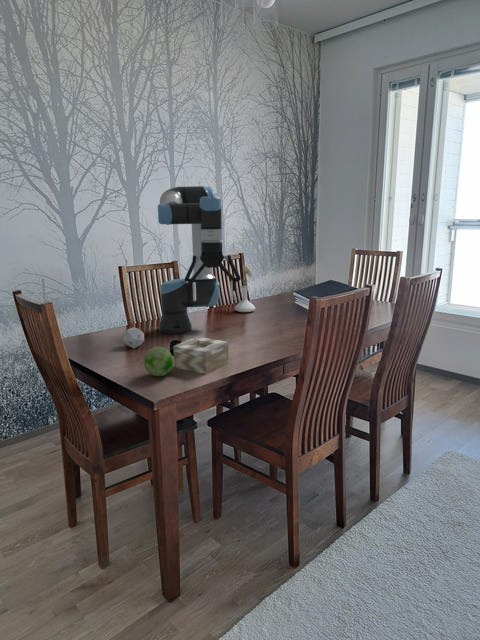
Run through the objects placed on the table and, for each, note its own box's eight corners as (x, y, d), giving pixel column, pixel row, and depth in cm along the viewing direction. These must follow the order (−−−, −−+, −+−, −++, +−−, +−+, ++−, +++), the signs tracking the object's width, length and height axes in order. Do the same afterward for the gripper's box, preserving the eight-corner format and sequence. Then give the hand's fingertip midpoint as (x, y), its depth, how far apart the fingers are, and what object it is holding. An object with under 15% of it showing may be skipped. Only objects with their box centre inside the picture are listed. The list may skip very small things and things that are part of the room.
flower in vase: (255, 313, 248) (255, 266, 242) (234, 313, 248) (233, 267, 242) (255, 308, 260) (255, 263, 254) (234, 308, 260) (234, 264, 254)
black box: (177, 359, 177) (176, 346, 176) (159, 357, 180) (158, 345, 179) (191, 349, 189) (191, 337, 188) (174, 347, 192) (174, 336, 191)
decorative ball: (146, 371, 163) (145, 343, 161) (175, 370, 163) (174, 342, 161) (142, 381, 153) (140, 352, 151) (172, 380, 154) (171, 351, 152)
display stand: (174, 367, 166) (173, 346, 164) (197, 356, 178) (197, 336, 176) (206, 374, 159) (205, 352, 157) (228, 362, 170) (228, 341, 168)
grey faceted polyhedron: (122, 351, 187) (133, 334, 183) (117, 337, 193) (127, 320, 189) (139, 354, 193) (151, 338, 189) (134, 340, 198) (145, 324, 194)
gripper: (175, 242, 161) (177, 302, 166) (246, 241, 161) (247, 301, 166) (178, 241, 168) (180, 298, 173) (246, 240, 168) (247, 297, 173)
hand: (213, 300), depth 169 cm, fingers open, 13 cm apart
